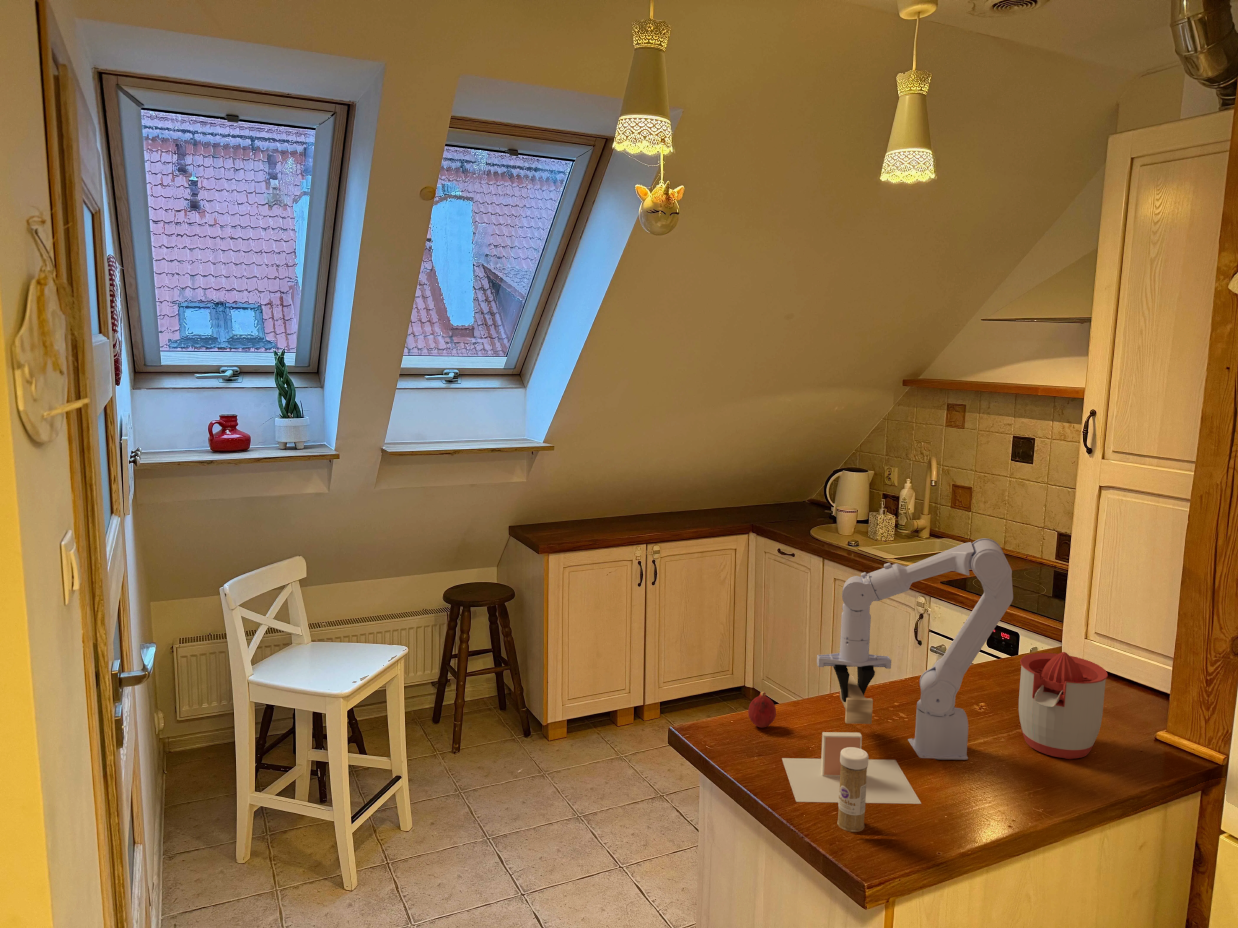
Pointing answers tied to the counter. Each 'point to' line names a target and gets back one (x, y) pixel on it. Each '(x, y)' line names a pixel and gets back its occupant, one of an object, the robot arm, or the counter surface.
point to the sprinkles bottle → (852, 789)
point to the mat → (813, 787)
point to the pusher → (857, 704)
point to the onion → (762, 711)
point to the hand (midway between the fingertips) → (851, 700)
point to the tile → (836, 750)
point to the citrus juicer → (1061, 703)
